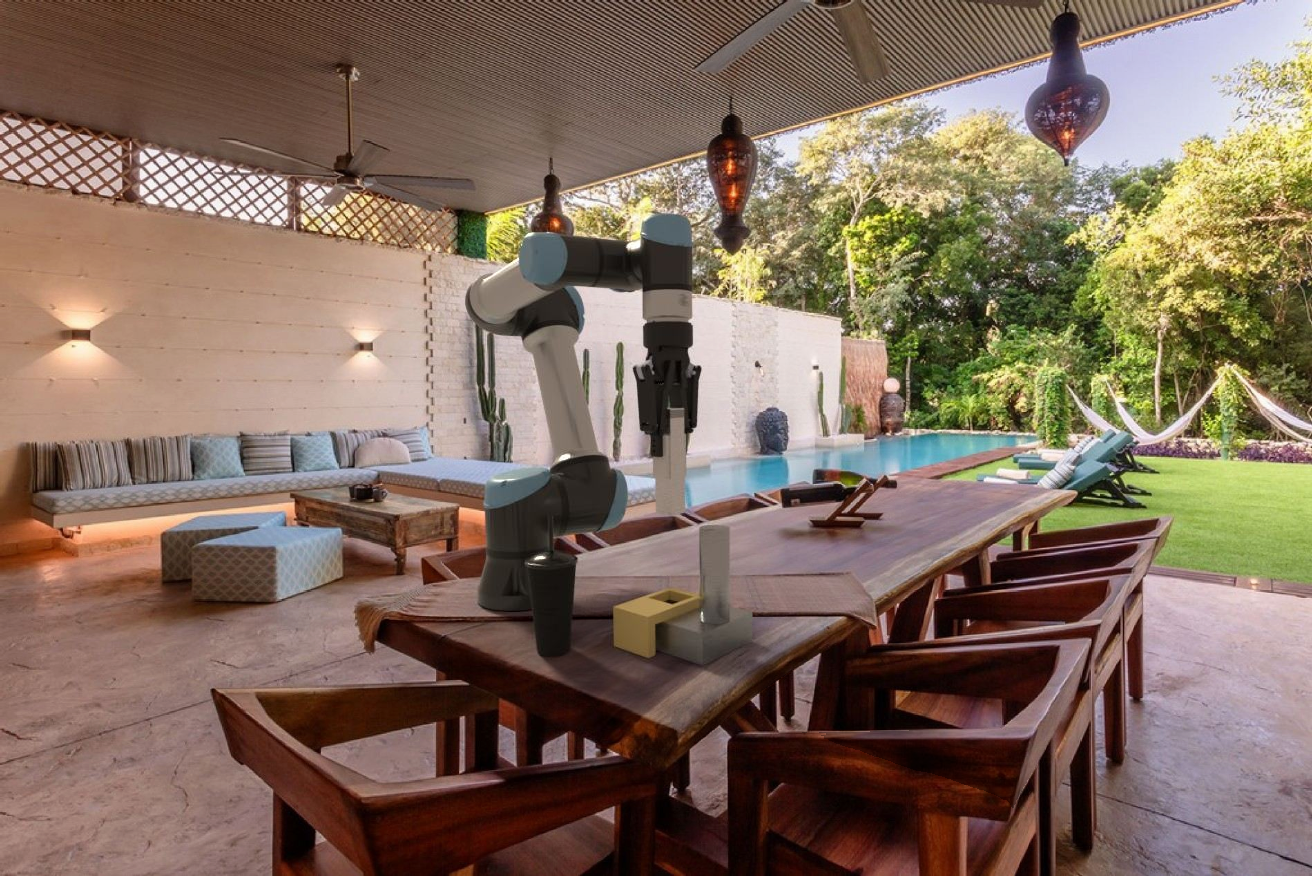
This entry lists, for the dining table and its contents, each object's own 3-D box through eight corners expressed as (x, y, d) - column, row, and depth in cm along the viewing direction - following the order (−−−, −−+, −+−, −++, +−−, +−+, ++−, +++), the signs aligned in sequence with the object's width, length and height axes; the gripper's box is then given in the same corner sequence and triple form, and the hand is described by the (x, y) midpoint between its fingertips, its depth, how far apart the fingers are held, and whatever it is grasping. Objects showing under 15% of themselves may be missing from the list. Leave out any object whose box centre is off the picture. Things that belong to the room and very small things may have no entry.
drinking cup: (534, 664, 99) (530, 523, 97) (522, 645, 106) (518, 514, 104) (586, 655, 102) (583, 518, 100) (571, 637, 109) (568, 509, 107)
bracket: (613, 646, 105) (613, 606, 105) (671, 623, 115) (670, 587, 114) (648, 658, 101) (647, 617, 100) (705, 633, 110) (704, 595, 110)
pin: (655, 513, 108) (654, 408, 107) (669, 510, 110) (668, 407, 109) (671, 515, 106) (670, 408, 105) (685, 512, 108) (684, 408, 107)
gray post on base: (625, 639, 108) (624, 523, 106) (676, 619, 117) (675, 511, 115) (702, 665, 98) (702, 537, 96) (752, 641, 107) (752, 523, 105)
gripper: (649, 316, 97) (652, 485, 99) (720, 322, 109) (721, 473, 111) (611, 320, 102) (614, 480, 104) (683, 326, 114) (685, 469, 116)
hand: (669, 476), depth 108 cm, fingers closed on pin, 3 cm apart
